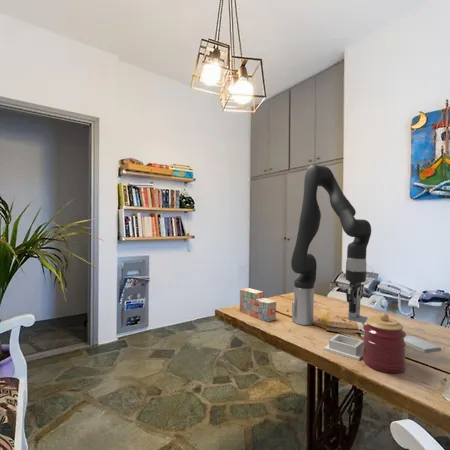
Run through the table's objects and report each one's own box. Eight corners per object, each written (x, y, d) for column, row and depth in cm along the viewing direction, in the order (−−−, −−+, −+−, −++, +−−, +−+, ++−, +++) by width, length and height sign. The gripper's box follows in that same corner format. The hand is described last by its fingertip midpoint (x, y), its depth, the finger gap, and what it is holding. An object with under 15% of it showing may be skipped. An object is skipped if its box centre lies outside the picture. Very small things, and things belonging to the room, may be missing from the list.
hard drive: (441, 347, 115) (412, 335, 127) (424, 349, 112) (397, 337, 124) (441, 351, 115) (412, 339, 127) (424, 354, 112) (397, 340, 124)
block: (348, 319, 120) (349, 294, 120) (351, 317, 123) (352, 293, 122) (363, 323, 116) (365, 298, 115) (367, 320, 119) (368, 296, 118)
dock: (323, 349, 114) (323, 339, 114) (335, 341, 122) (335, 332, 122) (359, 360, 105) (359, 350, 105) (368, 350, 113) (369, 340, 113)
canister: (378, 353, 111) (378, 306, 111) (413, 368, 100) (414, 316, 100) (354, 360, 105) (355, 310, 105) (389, 377, 94) (390, 322, 94)
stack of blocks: (276, 320, 148) (276, 295, 148) (267, 322, 144) (267, 297, 144) (248, 309, 165) (248, 287, 165) (239, 311, 162) (239, 288, 162)
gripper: (352, 265, 127) (351, 305, 128) (339, 269, 117) (337, 313, 118) (371, 268, 122) (369, 309, 123) (359, 272, 112) (357, 317, 112)
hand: (354, 311), depth 120 cm, fingers closed on block, 4 cm apart
